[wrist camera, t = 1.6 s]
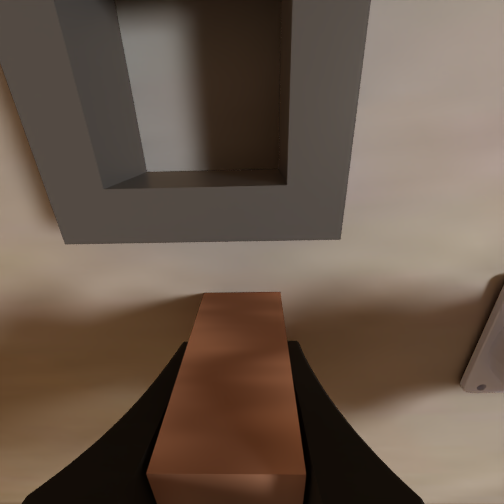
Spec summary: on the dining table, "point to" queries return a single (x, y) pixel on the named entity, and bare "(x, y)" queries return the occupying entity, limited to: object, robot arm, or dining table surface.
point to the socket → (181, 182)
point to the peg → (232, 410)
